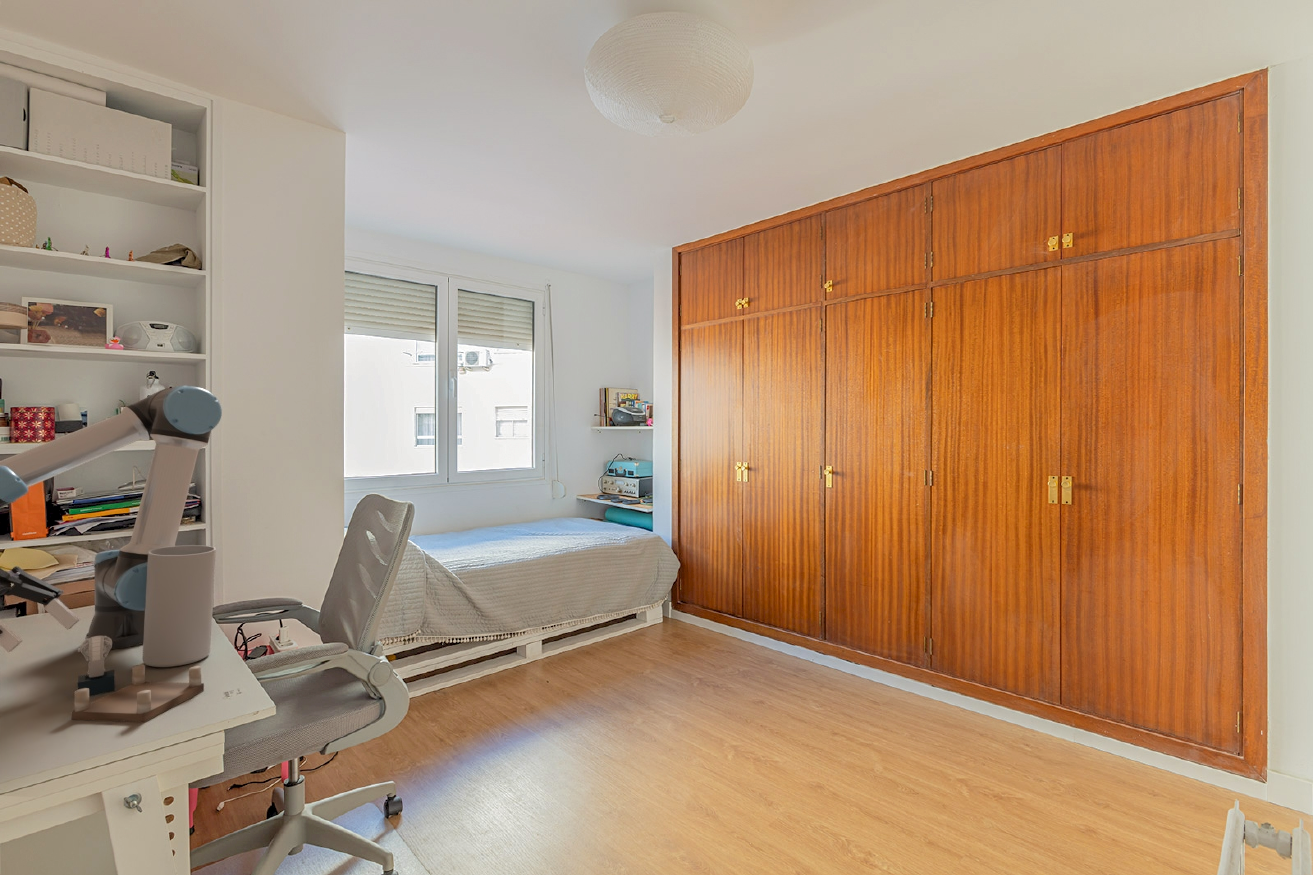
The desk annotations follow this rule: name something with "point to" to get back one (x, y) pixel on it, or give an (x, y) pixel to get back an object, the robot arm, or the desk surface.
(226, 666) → the desk surface
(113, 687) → the watch
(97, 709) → the peg base
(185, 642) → the cylinder vase
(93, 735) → the desk surface
